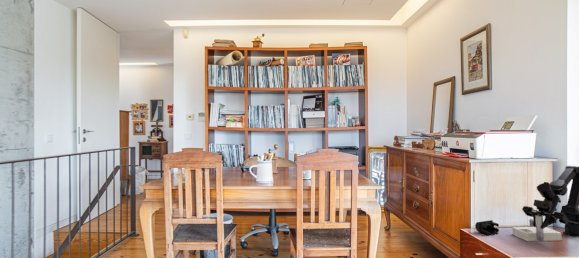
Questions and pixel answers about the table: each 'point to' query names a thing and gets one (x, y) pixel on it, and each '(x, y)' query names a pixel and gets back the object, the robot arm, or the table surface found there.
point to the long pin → (539, 228)
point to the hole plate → (530, 233)
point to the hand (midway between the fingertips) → (537, 227)
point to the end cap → (487, 227)
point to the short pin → (531, 222)
